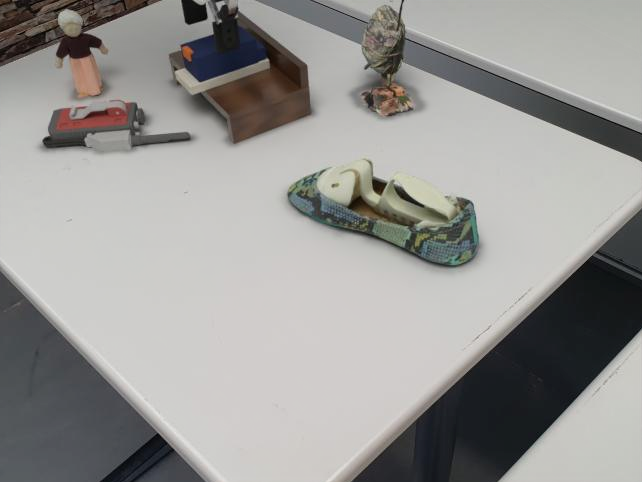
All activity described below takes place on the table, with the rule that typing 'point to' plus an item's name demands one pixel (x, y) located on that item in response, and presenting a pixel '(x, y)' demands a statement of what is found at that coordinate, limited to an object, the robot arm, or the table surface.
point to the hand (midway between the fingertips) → (212, 35)
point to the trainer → (219, 62)
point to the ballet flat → (391, 210)
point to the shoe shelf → (260, 90)
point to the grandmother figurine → (79, 54)
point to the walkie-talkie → (102, 127)
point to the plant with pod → (385, 60)
